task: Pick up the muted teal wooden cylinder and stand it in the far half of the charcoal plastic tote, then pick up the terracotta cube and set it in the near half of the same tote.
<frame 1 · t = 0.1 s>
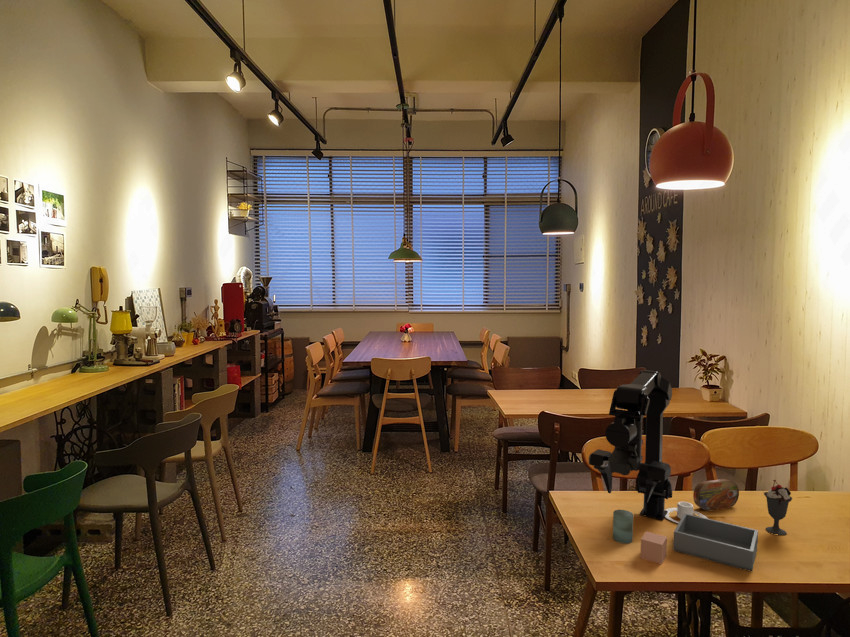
hand: (627, 497, 137), 14 cm above the table, tool pointing down, fingers open, 9 cm apart
candle holder: (685, 519, 158), on the table
cube: (653, 557, 136), on the table
sundae: (775, 532, 149), on the table
cylinder: (622, 539, 145), on the table
tin: (715, 508, 165), on the table
tote: (715, 549, 139), on the table
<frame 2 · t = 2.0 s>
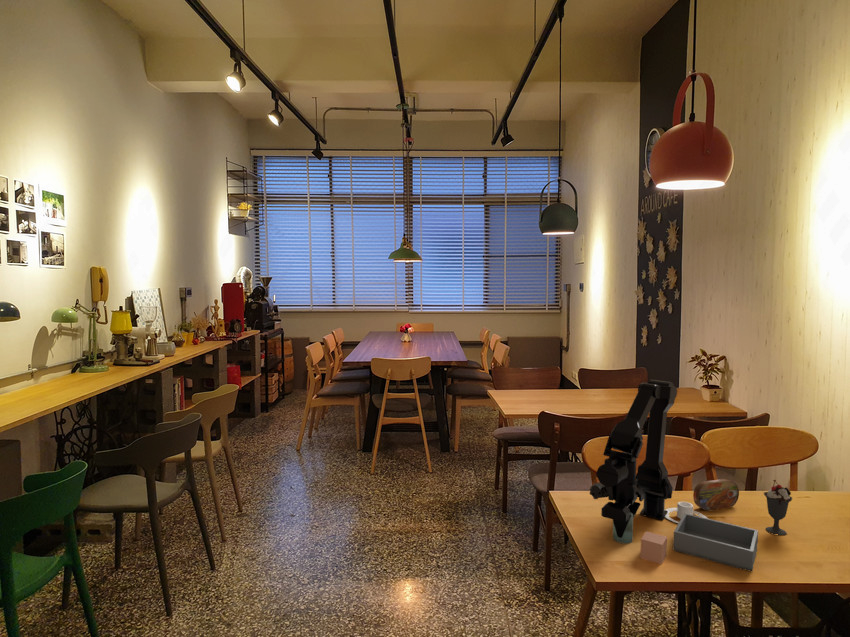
hand: (622, 533, 145), 2 cm above the table, tool pointing down, fingers closed on cylinder, 5 cm apart
cylinder: (622, 538, 145), on the table, touching gripper
everything else where it was.
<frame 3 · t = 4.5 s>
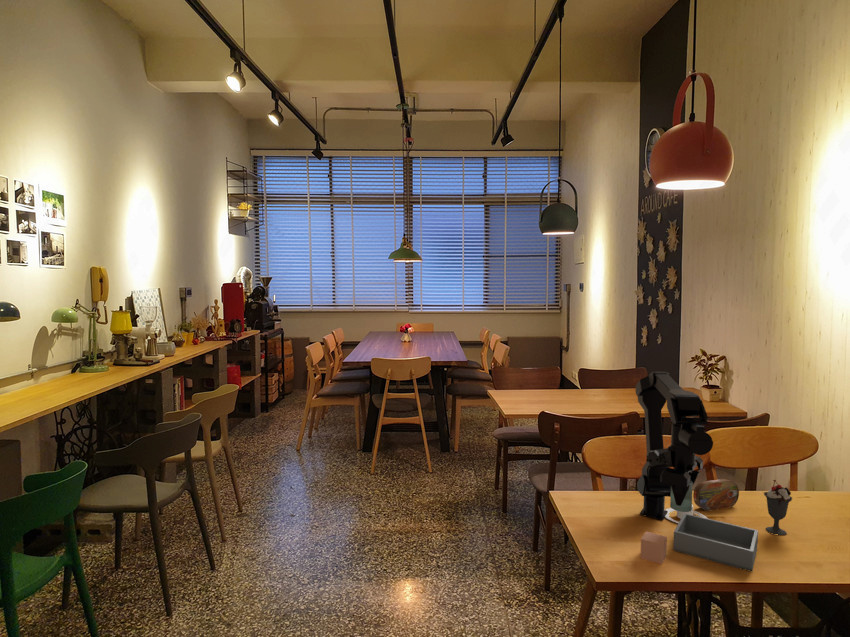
hand: (681, 501, 140), 12 cm above the table, tool pointing down, fingers closed on cylinder, 5 cm apart
cylinder: (680, 507, 140), point 11 cm above the table, touching gripper
everything else where it was.
when the fingers open (4 cm above the table, at t = 7.2 s): cylinder drops 2 cm, resting on tote.
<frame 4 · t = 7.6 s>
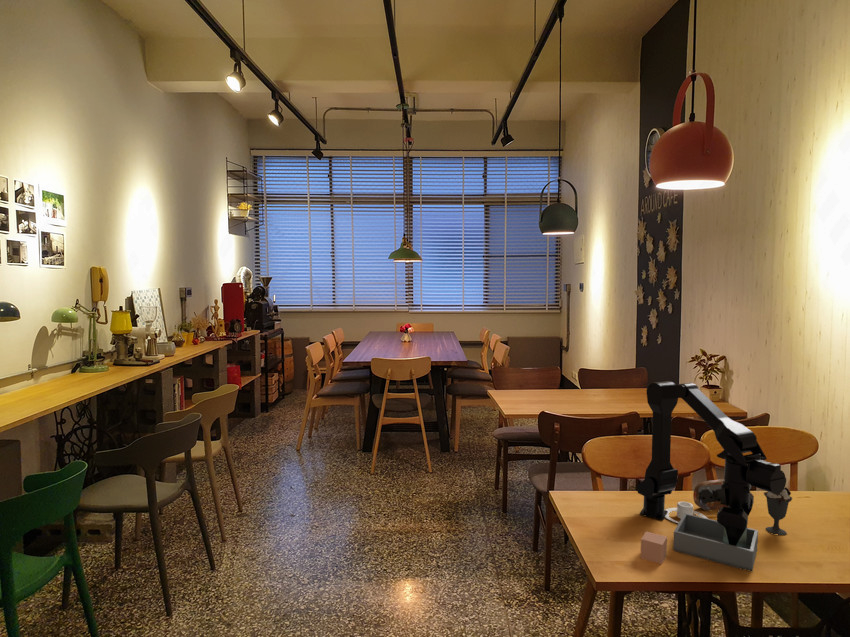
hand: (734, 540, 137), 4 cm above the table, tool pointing down, fingers open, 9 cm apart
cylinder: (734, 551, 137), point 1 cm above the table, touching tote
everything else where it was.
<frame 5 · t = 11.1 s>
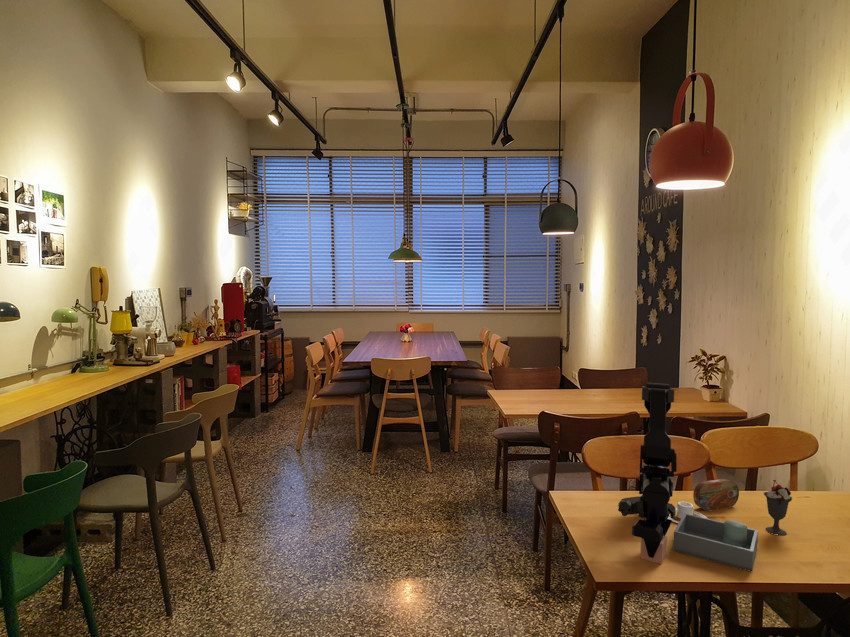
hand: (653, 552, 136), 1 cm above the table, tool pointing down, fingers closed on cube, 5 cm apart
cube: (653, 556, 136), on the table, touching gripper
everything else where it was.
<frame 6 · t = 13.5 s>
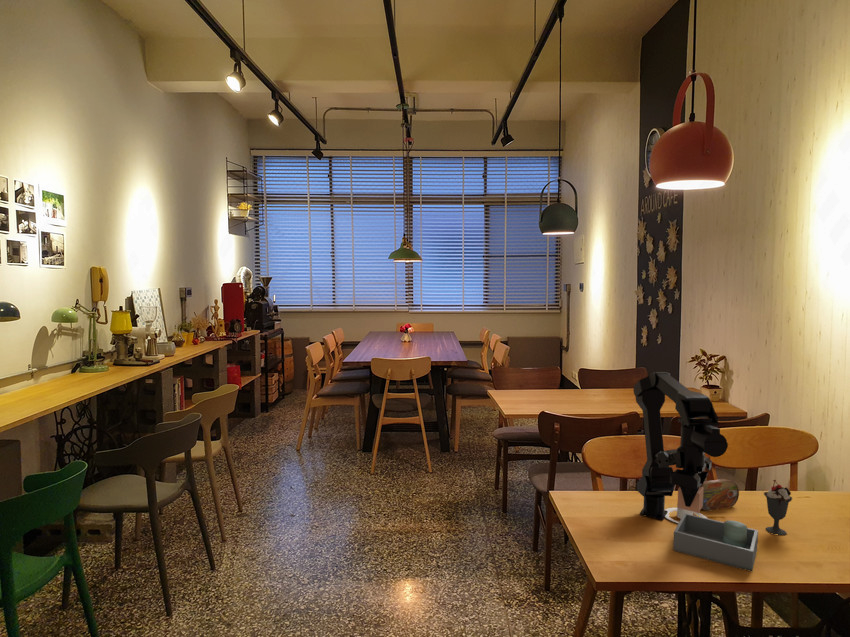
hand: (690, 502, 140), 12 cm above the table, tool pointing down, fingers closed on cube, 5 cm apart
cube: (690, 506, 140), point 11 cm above the table, touching gripper
everything else where it was.
when the fingers open (3 cm above the table, at t = 15.8 s): cube drops 1 cm, resting on tote.
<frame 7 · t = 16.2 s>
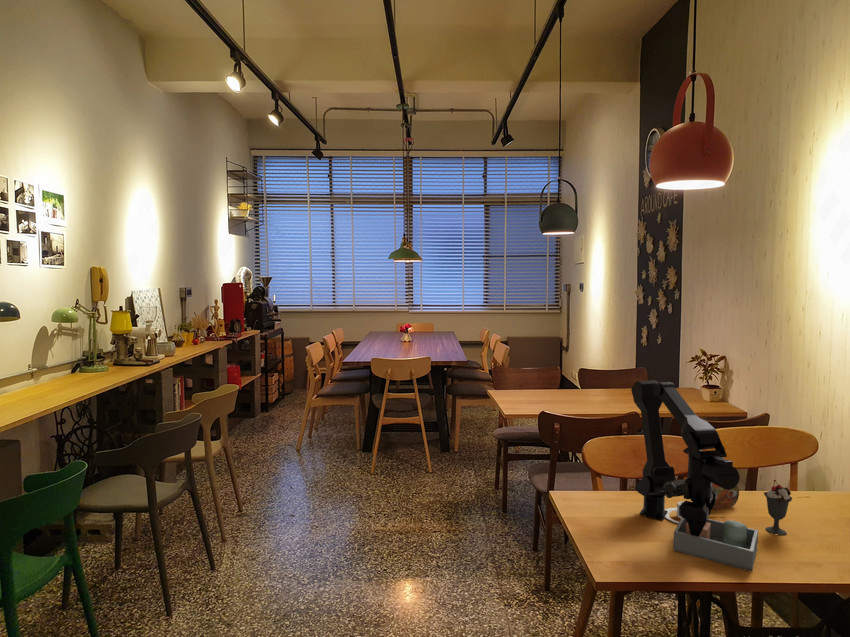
hand: (697, 533, 142), 3 cm above the table, tool pointing down, fingers open, 9 cm apart
cube: (697, 542, 142), point 1 cm above the table, touching tote
everything else where it was.
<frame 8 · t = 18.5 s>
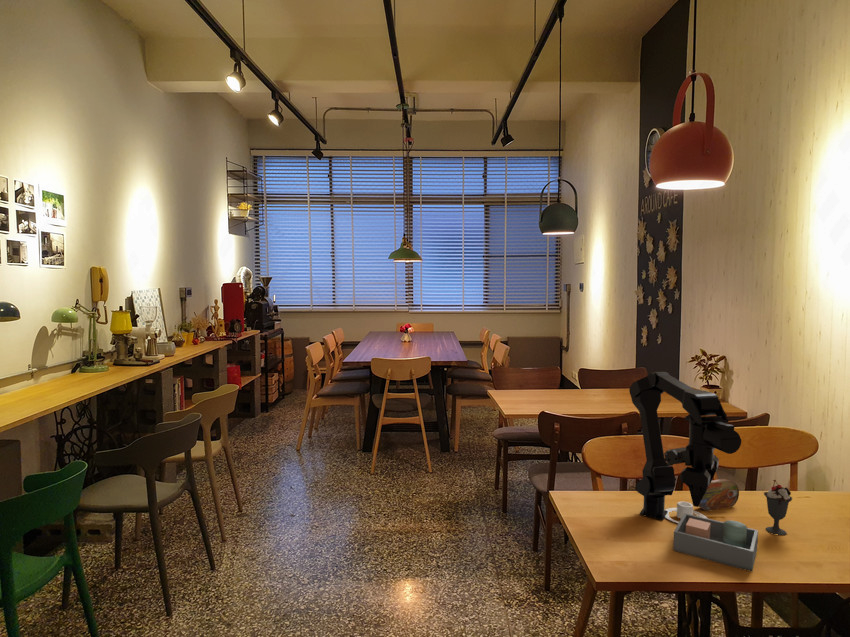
hand: (699, 500, 141), 12 cm above the table, tool pointing down, fingers open, 9 cm apart
nothing on the table moved.
at the end: cylinder inside the target area on the tote (4.2 cm from its centre), point 0.7 cm above the tote's base; cube inside the target area on the tote (4.2 cm from its centre), point 0.7 cm above the tote's base; the gripper is holding nothing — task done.
